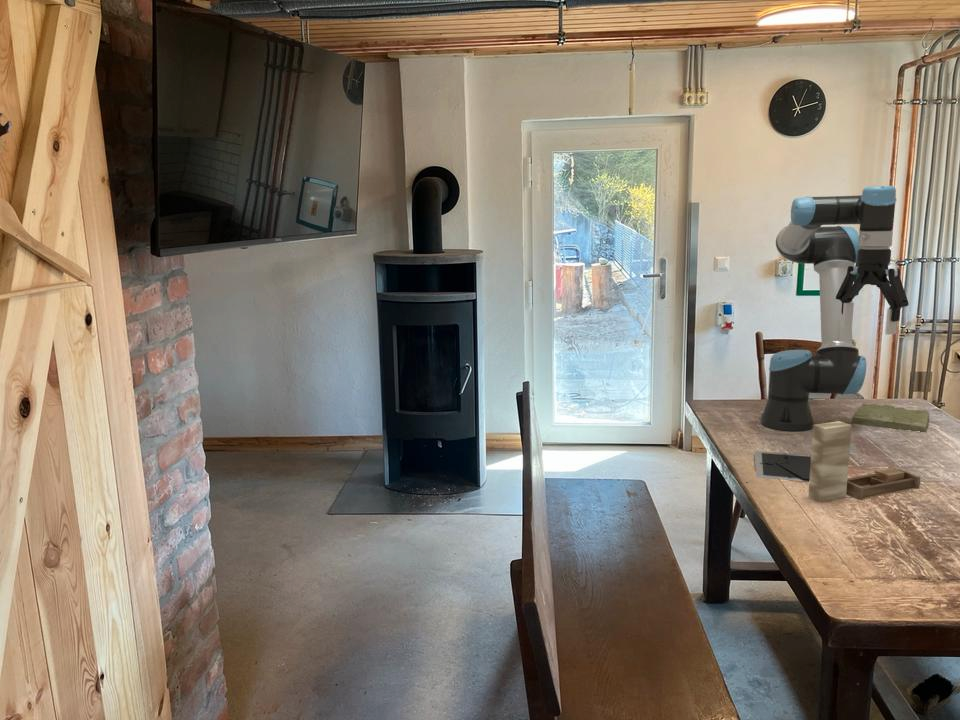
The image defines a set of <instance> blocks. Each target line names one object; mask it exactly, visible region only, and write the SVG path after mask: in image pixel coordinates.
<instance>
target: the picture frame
mask: <svg viewBox="0 0 960 720" xmlns="http://www.w3.org/2000/svg"><path fill="white" fill-rule="evenodd" d="M810 465H811V454H802V453H800V454H798V453H788V452H776V451H775V452H774V451H773V452H772V451H761V450H754V468H755V470H754V471H755V477H756V478H762V479H773V480H783V481H784V480H785V481H795V482H807V483H809V480H810Z"/></svg>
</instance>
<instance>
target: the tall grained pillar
mask: <svg viewBox="0 0 960 720" xmlns="http://www.w3.org/2000/svg"><path fill="white" fill-rule="evenodd" d="M811 434H812V439H811V449H810V450H811V453H810V455H811V465H810V480H809V482H808V484H809V485H808V498H809V499H811V500H814V501H816V502H818V503H825V502H829V501H835V500H841V499H845V498H847V494H846V491H847V479H848V474H849V461H850V450H851V440H852V439H851V437H852V424H850V423H847V422H843V421H839V420H836V421H831V422H825V423H816V424H813V428H812V433H811Z"/></svg>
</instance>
